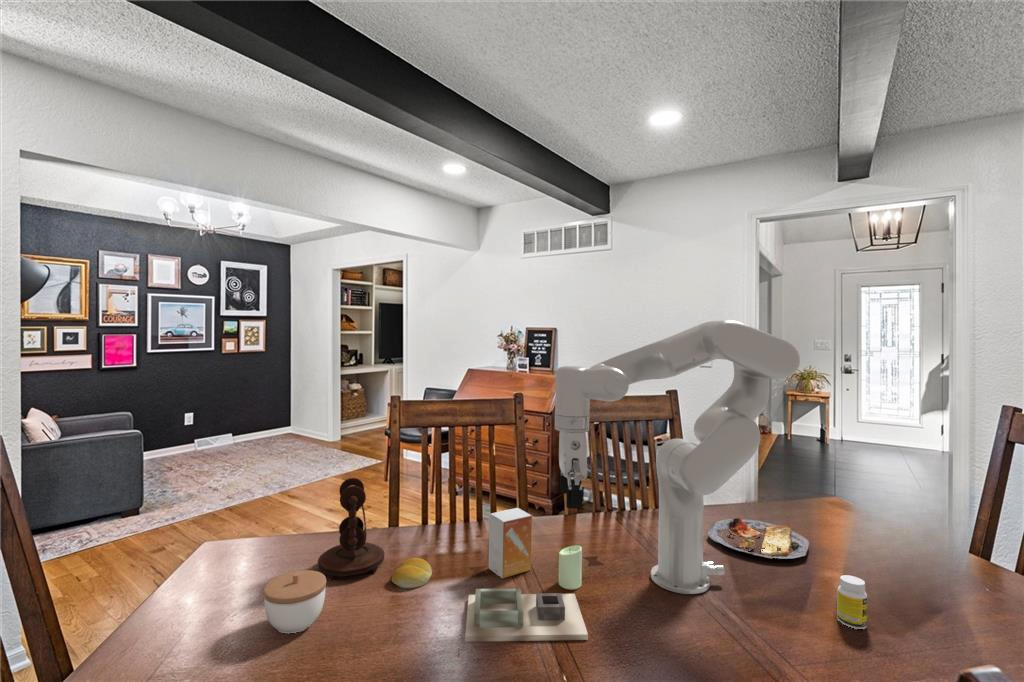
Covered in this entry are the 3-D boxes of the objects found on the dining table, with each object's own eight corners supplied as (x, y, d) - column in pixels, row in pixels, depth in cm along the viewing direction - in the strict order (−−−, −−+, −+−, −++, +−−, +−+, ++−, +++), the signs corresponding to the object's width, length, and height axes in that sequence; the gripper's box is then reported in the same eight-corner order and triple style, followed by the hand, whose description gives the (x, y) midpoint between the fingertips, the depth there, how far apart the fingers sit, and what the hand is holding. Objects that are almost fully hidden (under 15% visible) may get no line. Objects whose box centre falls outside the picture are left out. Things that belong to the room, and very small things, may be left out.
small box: (502, 579, 110) (503, 521, 110) (487, 568, 115) (488, 513, 115) (531, 570, 114) (532, 514, 114) (516, 560, 120) (517, 506, 120)
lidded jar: (281, 607, 98) (281, 560, 97) (334, 609, 97) (335, 562, 97) (251, 641, 87) (251, 588, 87) (311, 643, 87) (311, 590, 86)
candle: (556, 587, 107) (556, 549, 107) (561, 576, 112) (562, 540, 112) (578, 591, 105) (579, 553, 105) (583, 580, 110) (584, 544, 110)
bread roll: (386, 588, 106) (386, 569, 106) (402, 569, 115) (403, 552, 115) (422, 592, 105) (423, 573, 104) (436, 572, 113) (436, 555, 113)
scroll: (387, 576, 111) (388, 488, 111) (316, 587, 106) (317, 494, 106) (381, 549, 125) (381, 471, 124) (318, 558, 120) (319, 476, 119)
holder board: (574, 598, 102) (574, 581, 102) (587, 639, 88) (588, 620, 88) (468, 599, 101) (468, 582, 101) (465, 641, 87) (465, 622, 87)
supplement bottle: (867, 633, 91) (868, 588, 91) (837, 625, 94) (838, 581, 94) (865, 621, 95) (866, 578, 95) (836, 613, 98) (837, 571, 98)
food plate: (722, 518, 149) (722, 507, 149) (812, 539, 135) (812, 526, 135) (699, 549, 128) (699, 536, 128) (802, 576, 115) (803, 562, 115)
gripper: (597, 430, 100) (595, 514, 100) (581, 416, 117) (580, 488, 117) (560, 429, 99) (558, 514, 99) (550, 416, 117) (548, 488, 117)
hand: (570, 500), depth 108 cm, fingers open, 9 cm apart
